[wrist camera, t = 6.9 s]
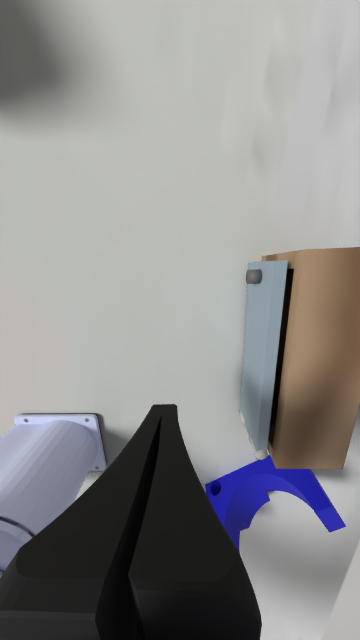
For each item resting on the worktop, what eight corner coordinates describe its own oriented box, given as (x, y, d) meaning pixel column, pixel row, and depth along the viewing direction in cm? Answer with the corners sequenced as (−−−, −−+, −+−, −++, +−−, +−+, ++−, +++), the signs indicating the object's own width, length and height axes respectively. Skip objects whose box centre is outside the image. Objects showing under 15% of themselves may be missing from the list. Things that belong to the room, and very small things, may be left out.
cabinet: (250, 411, 20) (276, 468, 14) (262, 256, 16) (304, 249, 10) (297, 411, 20) (342, 469, 14) (322, 253, 16) (400, 245, 10)
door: (232, 415, 20) (245, 459, 15) (238, 263, 16) (260, 261, 11) (248, 414, 20) (267, 459, 15) (259, 262, 16) (289, 260, 11)
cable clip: (224, 503, 25) (235, 576, 19) (205, 482, 24) (211, 552, 18) (309, 466, 22) (352, 536, 17) (292, 442, 21) (331, 506, 16)
